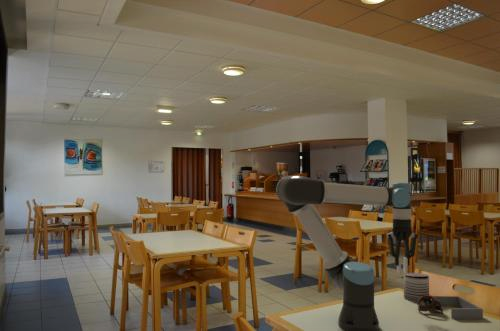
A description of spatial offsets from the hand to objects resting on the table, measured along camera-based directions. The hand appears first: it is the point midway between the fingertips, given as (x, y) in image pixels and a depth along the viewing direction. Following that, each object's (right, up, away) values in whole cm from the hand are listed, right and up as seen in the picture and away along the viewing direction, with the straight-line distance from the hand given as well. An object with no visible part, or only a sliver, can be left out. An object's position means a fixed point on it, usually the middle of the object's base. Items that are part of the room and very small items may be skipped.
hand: (402, 272), depth 170 cm
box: (+23, -17, 0) cm, 28 cm away
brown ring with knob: (+12, -17, -1) cm, 20 cm away
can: (+14, -17, +18) cm, 28 cm away
